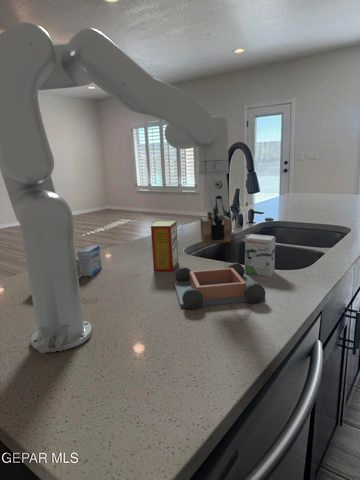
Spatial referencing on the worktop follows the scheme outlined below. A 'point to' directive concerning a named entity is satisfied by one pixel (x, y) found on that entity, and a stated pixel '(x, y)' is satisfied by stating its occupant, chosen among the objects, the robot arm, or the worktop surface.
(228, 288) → the chassis
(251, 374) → the worktop surface
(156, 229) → the baking soda box
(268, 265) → the ink box
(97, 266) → the medicine box
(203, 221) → the tan block
